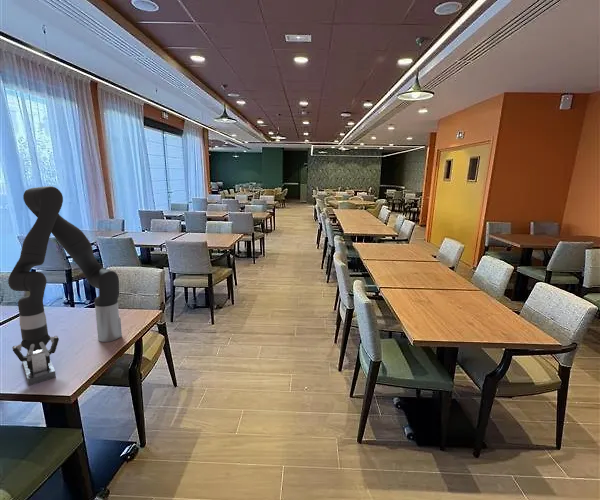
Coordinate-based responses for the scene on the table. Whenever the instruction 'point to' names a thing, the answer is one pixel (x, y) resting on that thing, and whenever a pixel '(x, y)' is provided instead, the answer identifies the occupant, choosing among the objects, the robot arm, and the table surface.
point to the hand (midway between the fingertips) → (39, 366)
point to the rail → (39, 374)
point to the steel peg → (38, 361)
